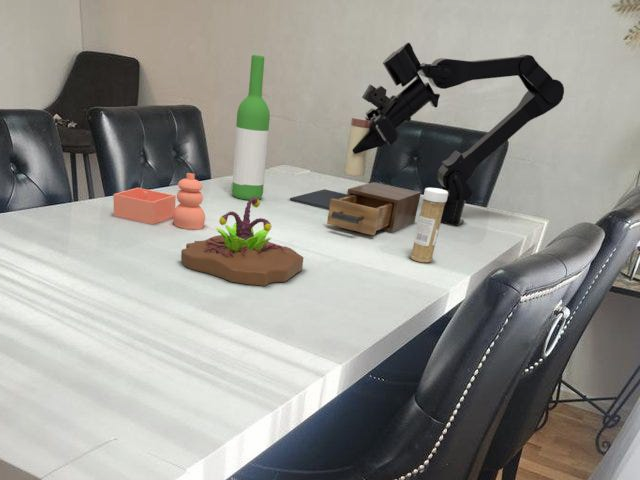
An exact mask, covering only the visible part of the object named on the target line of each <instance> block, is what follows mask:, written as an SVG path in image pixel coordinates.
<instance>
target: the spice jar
mask: <svg viewBox="0 0 640 480" xmlns="http://www.w3.org/2000/svg"><path fill="white" fill-rule="evenodd" d="M447 197H448V192H447V191H446V190H443V189H442V188H438V187H425V188H424V193H423V196H422V205H421V209H420V213H419V217H418V221H417V225H416V231H415V234H414V239H413V245H412V249H411V254H410V259H412V261H415V262H418V263H426V264H428V263H431V262H432V261H433V255H434V252H435V248H436V244H437V240H438V235H439V231H440V227H441V222H440V221H441V217H442V213H443V209H444V205H445V202H446V201H447Z"/></svg>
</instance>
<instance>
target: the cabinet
mask: <svg viewBox="0 0 640 480" xmlns="http://www.w3.org/2000/svg"><path fill="white" fill-rule="evenodd" d="M346 194H347V196H351V195H354V194H356V195H361V196H365V197H369V198H374V199H378V200H383V201H387V202H391V203H394V208H393V213H392V218H391V223H390V225H389V226H387V227H384V228H382V229H380V230H379V231H383V232H386V233H391V234H392V233H394V232H398V231H399V230H402V229H403V228H405V227H408V226H410V225H413V224H414V223H415V221H416V218H417V212H418V208H419V203H420V200H421V194H422V192H421V191H416V190H411V189H407V188H403V187H398V186H393V185H389V184H384V183H380V182H377V181H372V182H368V183H364V184H361V185H357V186H354V187H350V188H348V189H347V192H346Z"/></svg>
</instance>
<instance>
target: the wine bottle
mask: <svg viewBox="0 0 640 480" xmlns="http://www.w3.org/2000/svg"><path fill="white" fill-rule="evenodd" d="M264 69H265V55H258V54H257V55H256V54H252V55H251V60H250V73H249V84H248V85H249V86H248V95H247V96H246V97H245V98H244V99H242V101H241V102H240V104H239V106H238V109H237V111H236V112H237V113H236V126H235V138H234V152H233V153H234V155H233V170H232V184H231V192H232V196H233V197H235V198H237V199H239V200H245V201H249V200H250V198H252V197H256V198H258V199H259V200H261V199H262V197H263V194H264V186H265V185H264V184H265V175H266V165H267V152H268V143H269V142H268V141H269V131H270V129H269V128H270V119H271V118H270V117H271V115H270V108H269V106H268V104H267V103H266V101H265V100H264V98H263V97H262V96H263V83H264Z"/></svg>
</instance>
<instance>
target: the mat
mask: <svg viewBox="0 0 640 480" xmlns="http://www.w3.org/2000/svg"><path fill="white" fill-rule="evenodd" d="M344 197H347V193H342V192H338V191H335V190H330V189H325V188H324V189H319V190H316V191H312V192H308V193H305V194H300V195H296V196H292V197H290V198H289V201H290V202H295V203H300V204H304V205H309V206H311V207H317V208H320V209H324V210H328V211H329V207H330V200H331V199H332V198H334V199H340V198H344Z"/></svg>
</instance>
